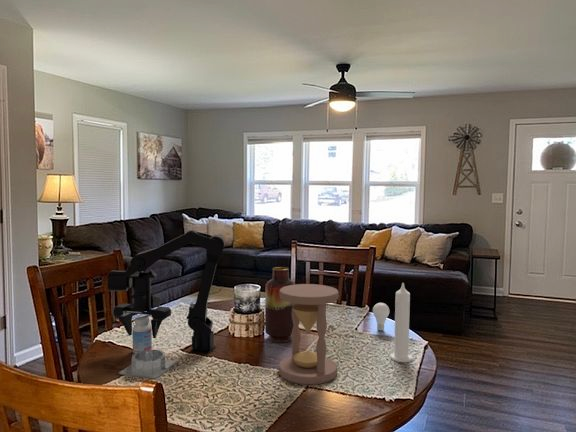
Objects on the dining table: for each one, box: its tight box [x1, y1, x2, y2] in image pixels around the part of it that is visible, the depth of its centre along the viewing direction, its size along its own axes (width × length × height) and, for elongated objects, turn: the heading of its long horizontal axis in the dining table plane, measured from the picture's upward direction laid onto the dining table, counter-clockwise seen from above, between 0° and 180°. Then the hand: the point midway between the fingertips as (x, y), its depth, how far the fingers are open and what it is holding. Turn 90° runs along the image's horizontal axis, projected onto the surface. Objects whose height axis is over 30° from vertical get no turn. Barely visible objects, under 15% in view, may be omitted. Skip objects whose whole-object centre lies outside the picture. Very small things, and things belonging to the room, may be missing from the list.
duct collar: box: [118, 349, 177, 380], centre depth 135 cm, size 12×12×4 cm
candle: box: [389, 282, 413, 363], centre depth 144 cm, size 7×7×25 cm
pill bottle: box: [132, 316, 153, 354], centre depth 149 cm, size 6×6×11 cm
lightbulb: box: [372, 302, 390, 332], centre depth 173 cm, size 6×6×11 cm
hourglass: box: [278, 283, 340, 386], centre depth 133 cm, size 18×18×25 cm
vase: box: [264, 266, 296, 344], centre depth 162 cm, size 11×11×26 cm
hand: (142, 336), depth 149 cm, fingers open, 9 cm apart
